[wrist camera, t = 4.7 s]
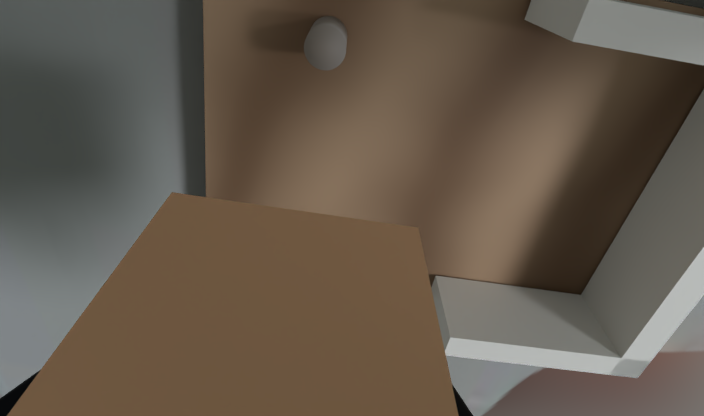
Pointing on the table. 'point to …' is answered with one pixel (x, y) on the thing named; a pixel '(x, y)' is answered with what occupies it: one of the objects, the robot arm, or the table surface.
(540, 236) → the seat plate
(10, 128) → the table surface
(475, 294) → the frame
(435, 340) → the block
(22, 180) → the table surface
